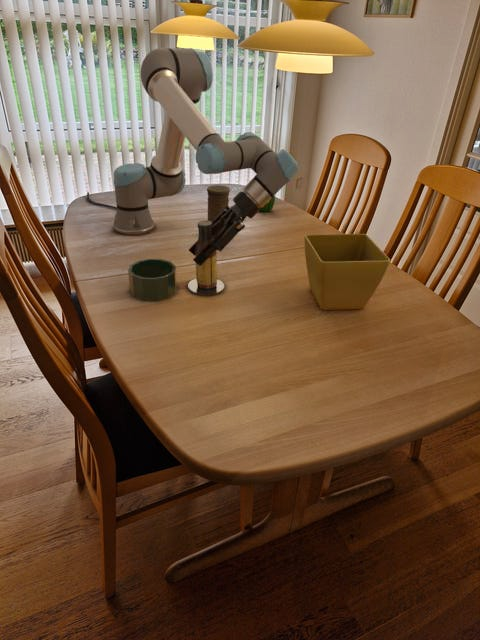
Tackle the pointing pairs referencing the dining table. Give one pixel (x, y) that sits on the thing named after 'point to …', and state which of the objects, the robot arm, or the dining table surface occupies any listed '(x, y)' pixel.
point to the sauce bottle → (208, 269)
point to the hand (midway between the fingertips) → (194, 257)
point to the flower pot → (343, 269)
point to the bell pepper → (268, 205)
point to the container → (217, 200)
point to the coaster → (197, 290)
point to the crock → (152, 279)
